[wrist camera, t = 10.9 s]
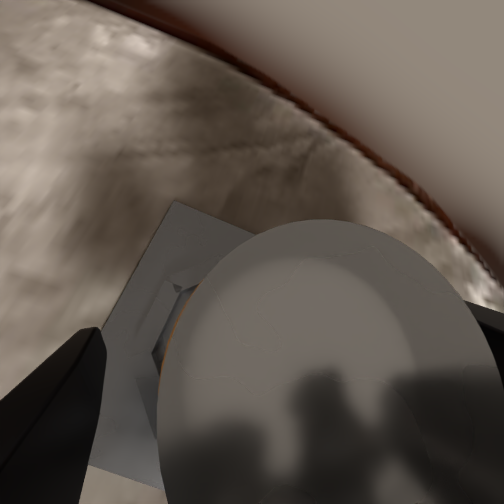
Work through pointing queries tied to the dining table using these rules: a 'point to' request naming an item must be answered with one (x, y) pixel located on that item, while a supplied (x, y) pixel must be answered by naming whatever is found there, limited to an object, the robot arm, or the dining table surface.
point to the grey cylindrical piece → (329, 379)
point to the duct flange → (152, 337)
